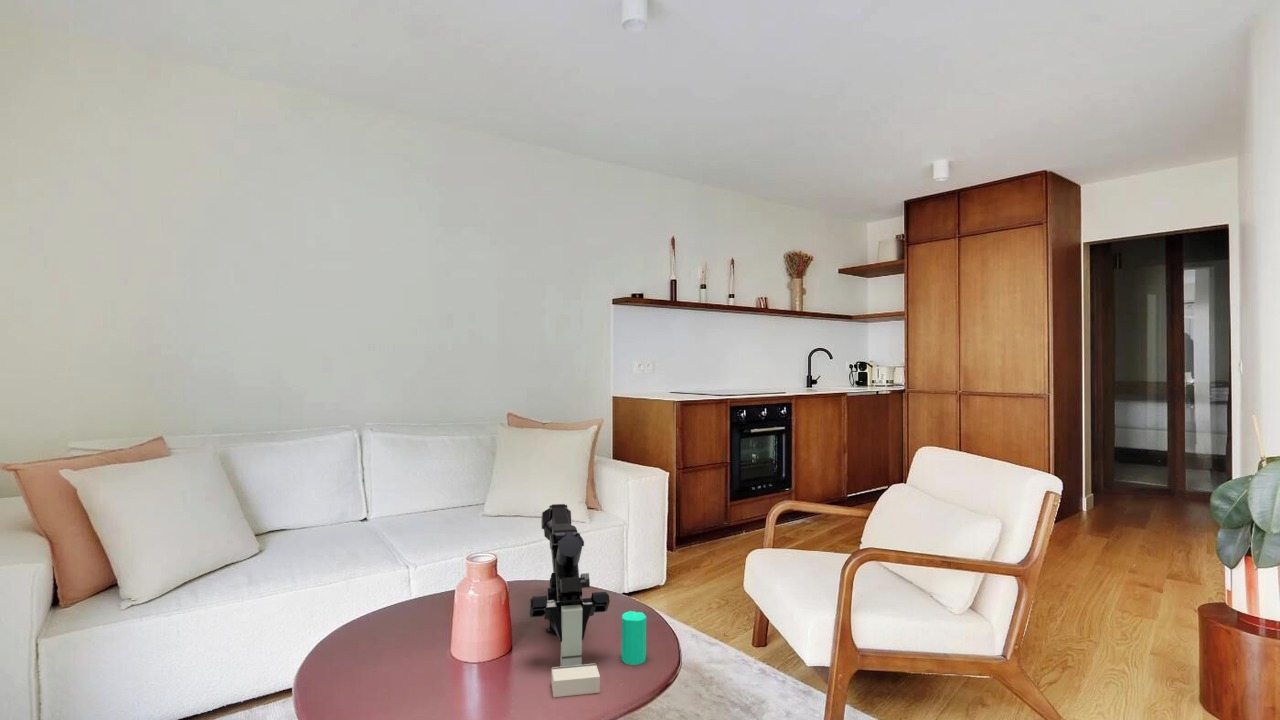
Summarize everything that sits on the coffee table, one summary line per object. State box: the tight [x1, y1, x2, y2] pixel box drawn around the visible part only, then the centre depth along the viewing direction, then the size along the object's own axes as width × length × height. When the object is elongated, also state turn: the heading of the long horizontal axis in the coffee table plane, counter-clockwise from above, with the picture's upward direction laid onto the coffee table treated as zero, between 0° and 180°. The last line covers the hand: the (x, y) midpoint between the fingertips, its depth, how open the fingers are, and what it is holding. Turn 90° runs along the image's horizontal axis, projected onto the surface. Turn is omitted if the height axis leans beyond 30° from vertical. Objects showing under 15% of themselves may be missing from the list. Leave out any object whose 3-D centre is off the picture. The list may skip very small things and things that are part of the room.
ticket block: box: [550, 663, 601, 698], centre depth 143 cm, size 6×10×4 cm, turn 102°
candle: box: [621, 609, 647, 666], centre depth 156 cm, size 6×6×12 cm
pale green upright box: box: [559, 605, 583, 667], centre depth 151 cm, size 3×5×14 cm, turn 103°
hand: (572, 640), depth 150 cm, fingers closed on pale green upright box, 5 cm apart
